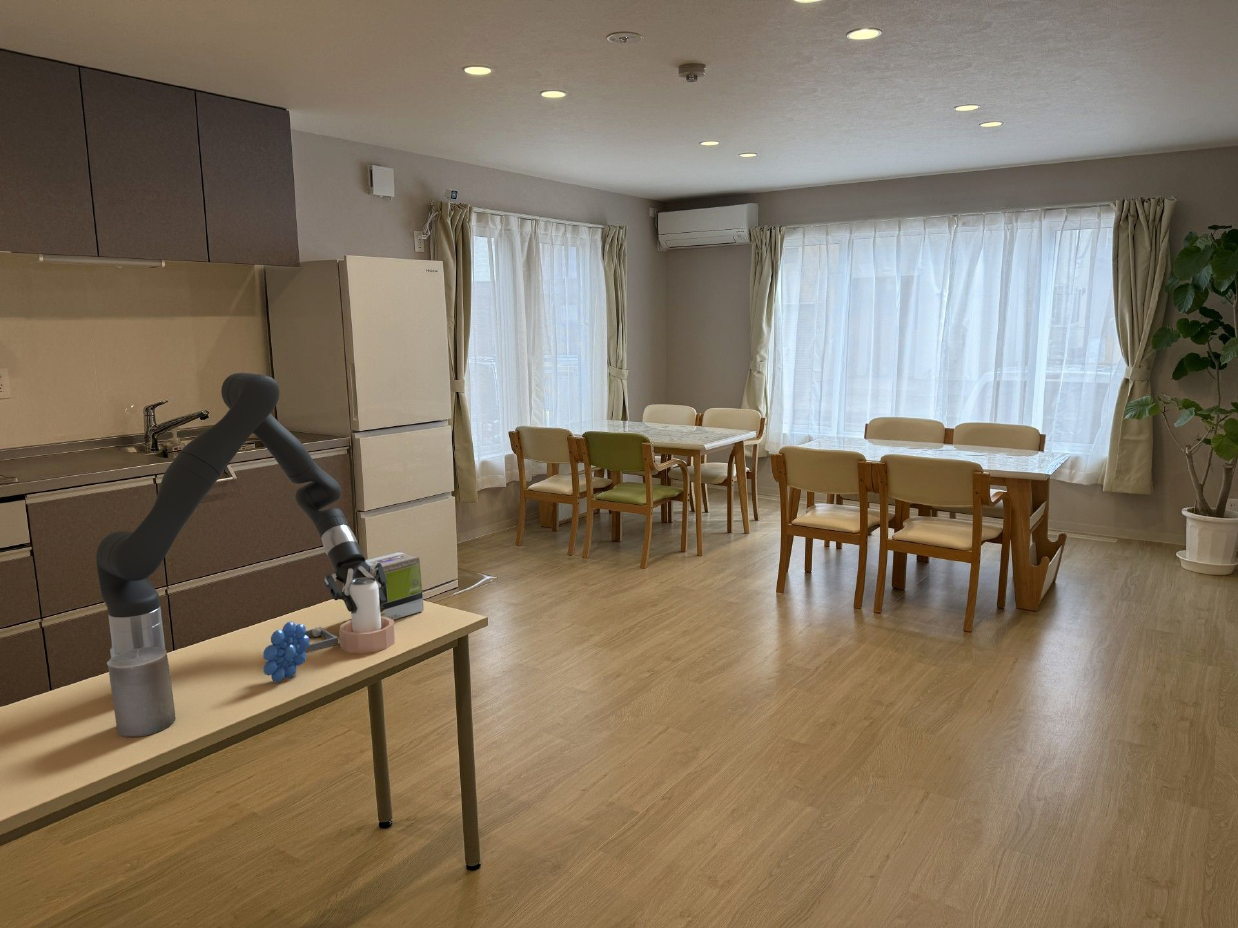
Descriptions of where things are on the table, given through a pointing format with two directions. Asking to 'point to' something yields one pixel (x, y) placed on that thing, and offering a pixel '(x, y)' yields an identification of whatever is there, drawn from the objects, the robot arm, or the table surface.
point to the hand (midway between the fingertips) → (368, 607)
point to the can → (365, 605)
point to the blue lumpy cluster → (286, 651)
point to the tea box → (400, 584)
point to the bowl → (367, 638)
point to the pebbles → (316, 632)
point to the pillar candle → (141, 691)
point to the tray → (322, 644)
